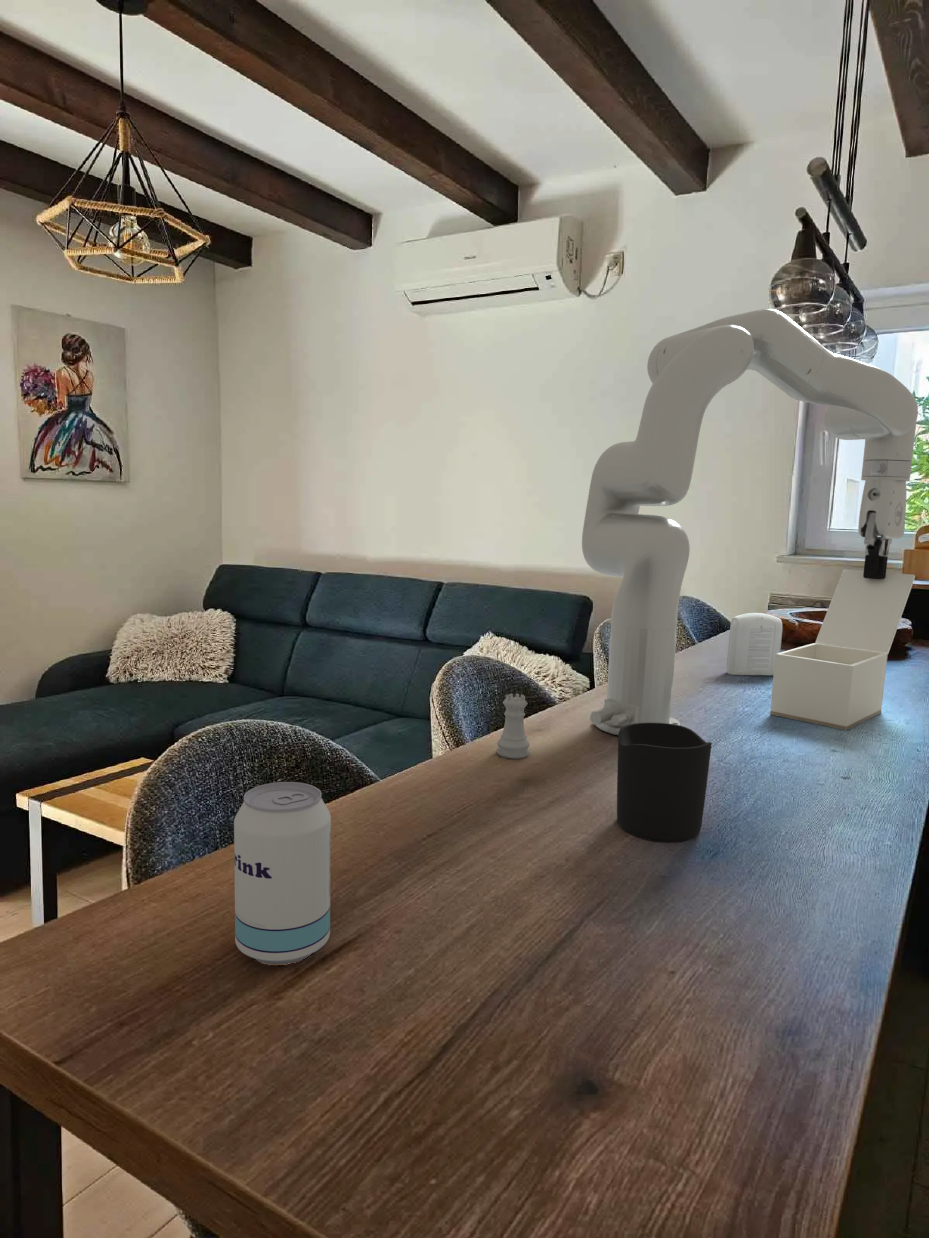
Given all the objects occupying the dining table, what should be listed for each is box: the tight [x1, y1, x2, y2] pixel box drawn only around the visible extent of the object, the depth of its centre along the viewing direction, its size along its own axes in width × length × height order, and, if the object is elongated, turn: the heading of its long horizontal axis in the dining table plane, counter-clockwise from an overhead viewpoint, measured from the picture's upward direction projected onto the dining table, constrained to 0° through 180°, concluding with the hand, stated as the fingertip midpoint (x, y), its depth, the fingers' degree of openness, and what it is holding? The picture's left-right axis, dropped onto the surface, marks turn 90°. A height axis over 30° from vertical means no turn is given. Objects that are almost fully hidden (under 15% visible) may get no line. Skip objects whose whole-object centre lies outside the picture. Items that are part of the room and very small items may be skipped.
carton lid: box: [815, 568, 916, 655], centre depth 145 cm, size 16×12×1 cm
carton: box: [770, 642, 889, 731], centre depth 137 cm, size 16×12×10 cm
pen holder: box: [616, 723, 713, 843], centre depth 87 cm, size 9×9×10 cm
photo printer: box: [726, 612, 784, 677], centre depth 166 cm, size 10×4×12 cm, turn 98°
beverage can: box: [233, 781, 332, 965], centre depth 62 cm, size 7×7×12 cm
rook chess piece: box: [495, 693, 531, 760], centre depth 110 cm, size 4×4×8 cm
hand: (874, 578), depth 146 cm, fingers closed
